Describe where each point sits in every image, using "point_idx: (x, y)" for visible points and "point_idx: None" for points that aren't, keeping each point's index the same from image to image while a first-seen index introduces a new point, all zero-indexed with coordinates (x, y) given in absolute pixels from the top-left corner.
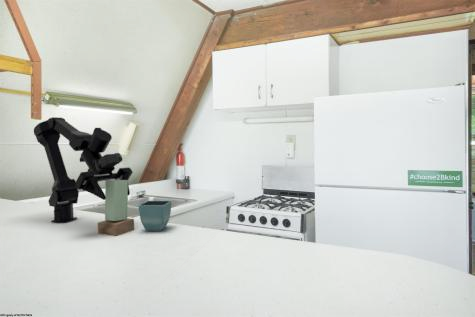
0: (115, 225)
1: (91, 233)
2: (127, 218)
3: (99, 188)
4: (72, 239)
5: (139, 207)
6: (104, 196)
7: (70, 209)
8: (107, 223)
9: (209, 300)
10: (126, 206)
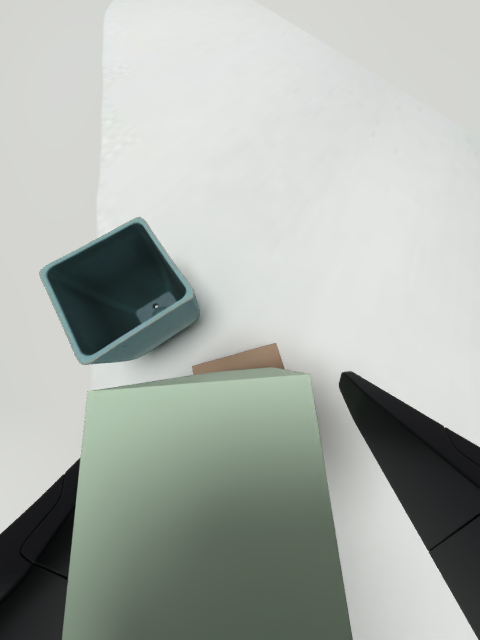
0: (276, 345)
1: None
2: None
3: (436, 436)
4: None
5: (194, 293)
6: (356, 375)
7: None
8: None
9: (324, 61)
10: (206, 373)
